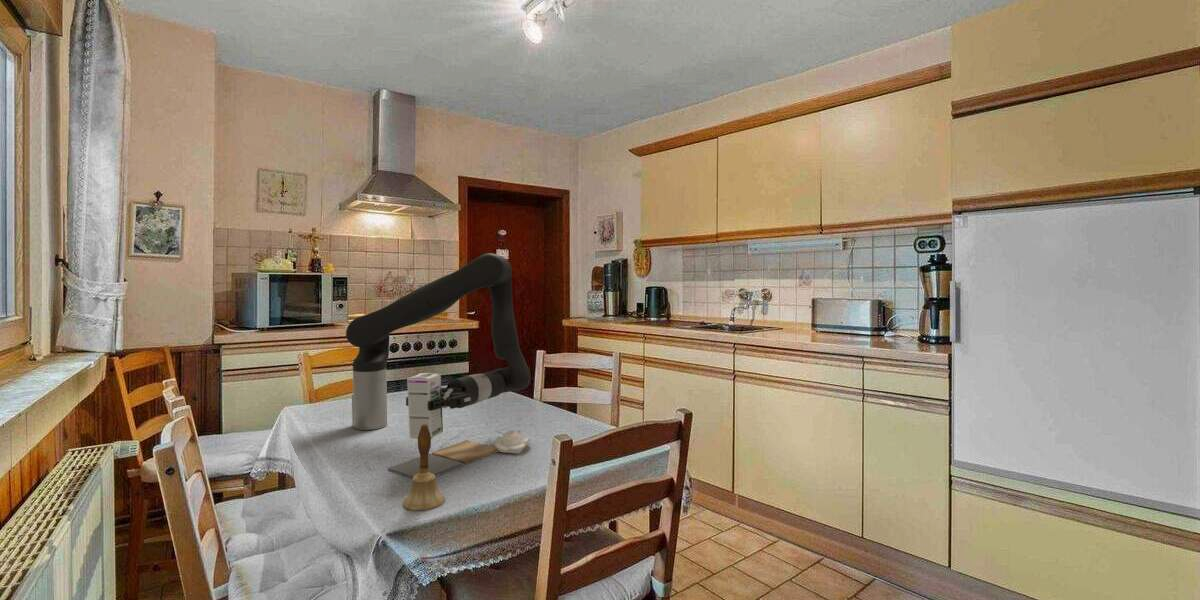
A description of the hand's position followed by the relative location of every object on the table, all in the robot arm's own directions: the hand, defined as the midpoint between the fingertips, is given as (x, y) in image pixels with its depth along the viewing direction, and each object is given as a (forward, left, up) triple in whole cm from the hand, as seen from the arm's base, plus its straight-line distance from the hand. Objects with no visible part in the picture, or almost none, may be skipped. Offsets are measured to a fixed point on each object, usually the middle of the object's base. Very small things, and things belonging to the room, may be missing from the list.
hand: (417, 404), depth 129 cm
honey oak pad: (0, +15, -16) cm, 22 cm away
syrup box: (0, +2, -8) cm, 8 cm away
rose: (+8, +24, -16) cm, 30 cm away
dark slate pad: (0, +2, -16) cm, 16 cm away
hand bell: (+15, -11, -16) cm, 25 cm away
